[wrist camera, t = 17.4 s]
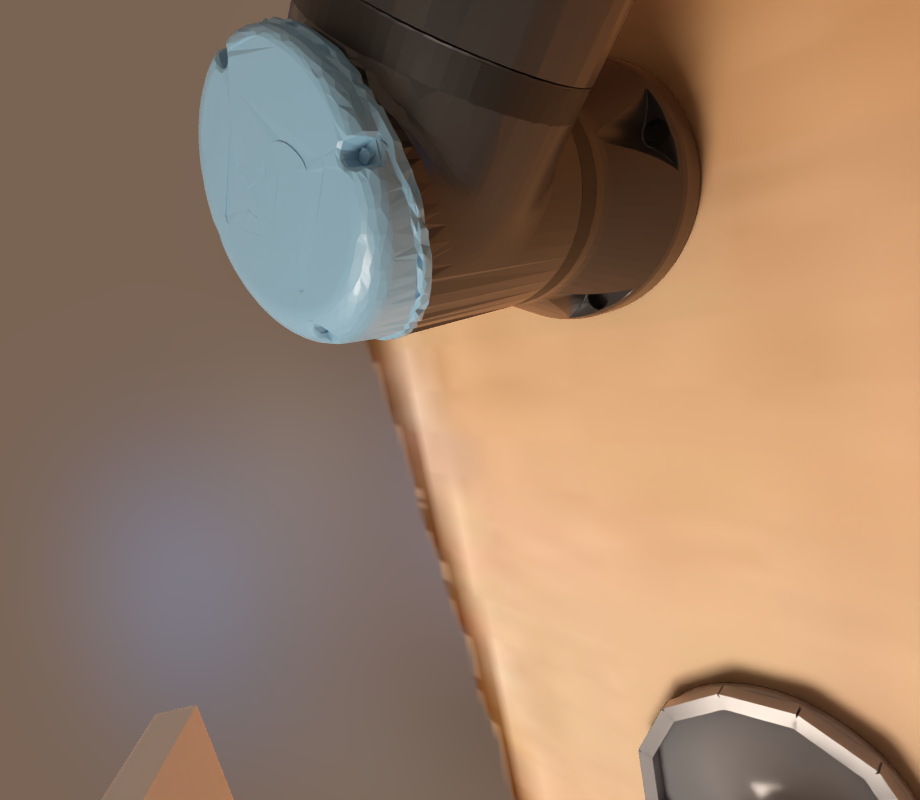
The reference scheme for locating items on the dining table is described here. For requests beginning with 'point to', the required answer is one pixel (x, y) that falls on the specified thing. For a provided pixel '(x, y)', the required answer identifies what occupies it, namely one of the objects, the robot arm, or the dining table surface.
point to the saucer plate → (759, 751)
